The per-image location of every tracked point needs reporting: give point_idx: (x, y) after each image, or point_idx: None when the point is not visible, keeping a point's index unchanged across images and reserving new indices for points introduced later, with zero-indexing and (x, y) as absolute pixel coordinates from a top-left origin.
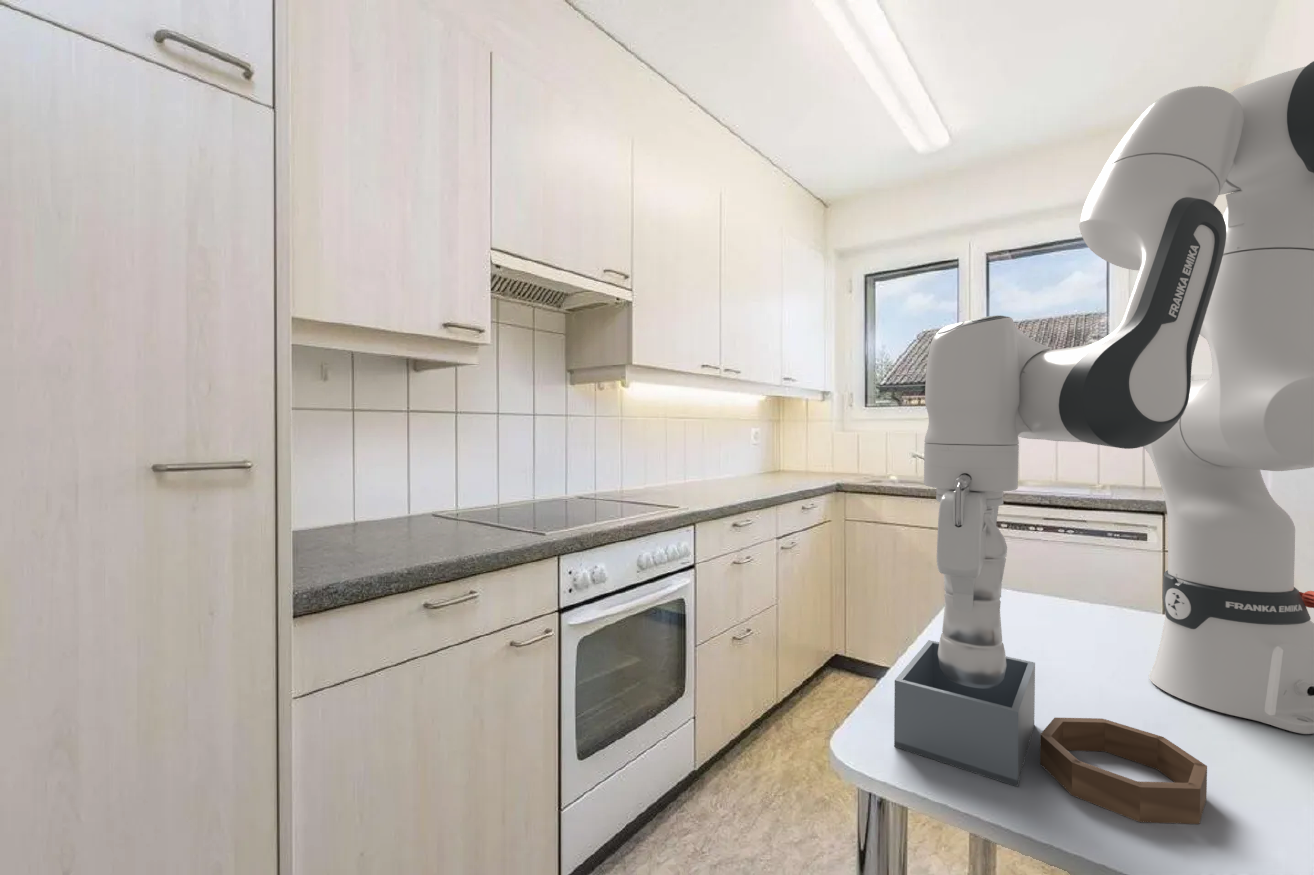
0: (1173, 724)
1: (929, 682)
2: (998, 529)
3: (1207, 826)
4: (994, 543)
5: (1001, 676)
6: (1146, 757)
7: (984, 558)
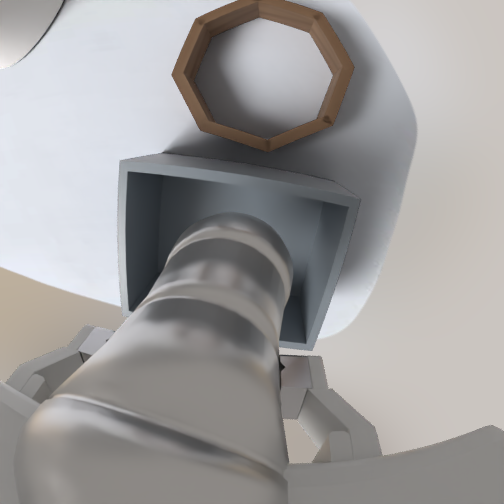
0: (93, 29)
1: None
2: None
3: None
4: None
5: (259, 220)
6: (206, 42)
7: (357, 487)
